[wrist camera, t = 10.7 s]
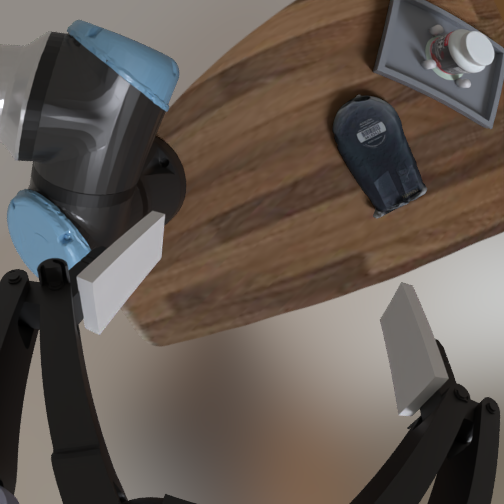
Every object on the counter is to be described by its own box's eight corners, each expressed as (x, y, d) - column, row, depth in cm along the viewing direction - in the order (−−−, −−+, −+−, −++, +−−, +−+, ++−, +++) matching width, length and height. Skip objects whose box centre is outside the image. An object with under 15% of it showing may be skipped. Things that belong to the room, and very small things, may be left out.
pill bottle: (424, 35, 26) (455, 20, 17) (458, 40, 25) (494, 29, 16) (431, 73, 28) (465, 68, 20) (464, 77, 27) (503, 75, 18)
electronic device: (423, 178, 38) (380, 83, 31) (435, 196, 33) (389, 89, 27) (369, 202, 42) (319, 114, 36) (374, 222, 38) (319, 124, 32)
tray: (372, 72, 31) (378, 69, 28) (391, -7, 25) (398, -15, 21) (482, 126, 30) (495, 129, 27) (498, 52, 24) (511, 51, 21)
